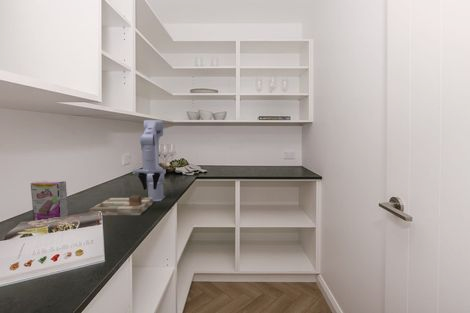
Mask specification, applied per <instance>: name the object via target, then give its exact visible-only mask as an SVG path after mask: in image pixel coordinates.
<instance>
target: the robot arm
mask: <svg viewBox="0 0 470 313" xmlns="http://www.w3.org/2000/svg"><path fill="white" fill-rule="evenodd" d="M143 129H144V131H143V134H142V135H140V136H139V144H140V147H141V148H140V149H141V155H142V156H141V157H142V158H141V160H142V168H141V169H140V168H138V169H132V175H137V177H138V178H139V180H140V183H141V184H142V188H143V190H147V191H148V192H147V193H148V194H147V195H148V197H147V198H153V202H161V201H162V200H164V198H165V197H166V195H164V185H163V183H164V182H165V174H166V173H167V172H166V171H167V170H166V168H163V166H162V167H161V166H160V163H159V162H160V158H159V157H160V154H159V153H160V150H159V148H160V146H159V145H160V143H159V142H160V139H161V137H162V136H163V135H164V120H162V119H144V120H143Z"/></svg>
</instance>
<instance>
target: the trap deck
mask: <svg viewBox="0 0 470 313" xmlns="http://www.w3.org/2000/svg"><path fill="white" fill-rule="evenodd" d="M141 201H142V204H140V205H139V206H129V197H109V198H108V199H106V200H104V201H102V202H100V203H98V204H96V205H95V206H93V207H90V208H89V213H90V212H96V211H101V212H102V215H101V216H141V215H142V214H143V213H145V211H146V210H148V209H149V208H150V207H151V206H152V205H153V204H154V201H153V198H148V197H141Z"/></svg>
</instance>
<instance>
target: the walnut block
mask: <svg viewBox="0 0 470 313" xmlns="http://www.w3.org/2000/svg"><path fill="white" fill-rule="evenodd" d="M128 198H129V206H139V205H140V204H142V201H141V198H142V194H140V195H139V194H137V195H134V194H133V195H131V196H129V197H128Z"/></svg>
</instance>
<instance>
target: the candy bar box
mask: <svg viewBox="0 0 470 313" xmlns="http://www.w3.org/2000/svg"><path fill="white" fill-rule="evenodd" d="M30 190H31V191H30V192H31V194H30V195H31V204H32V214H33V215H32V216H33V221H34V220H41V219H48V218H53V217H60V216H67V215H68V216H69V211H68V210H69V209H68V196H67V194H68V193H67V181H66V180H38V181H34V182H30Z"/></svg>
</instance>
